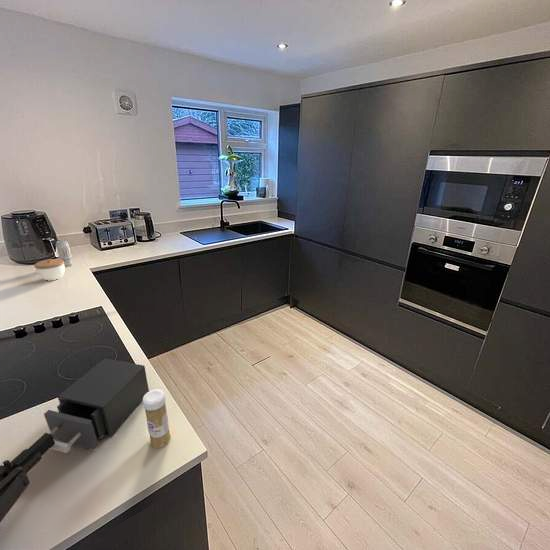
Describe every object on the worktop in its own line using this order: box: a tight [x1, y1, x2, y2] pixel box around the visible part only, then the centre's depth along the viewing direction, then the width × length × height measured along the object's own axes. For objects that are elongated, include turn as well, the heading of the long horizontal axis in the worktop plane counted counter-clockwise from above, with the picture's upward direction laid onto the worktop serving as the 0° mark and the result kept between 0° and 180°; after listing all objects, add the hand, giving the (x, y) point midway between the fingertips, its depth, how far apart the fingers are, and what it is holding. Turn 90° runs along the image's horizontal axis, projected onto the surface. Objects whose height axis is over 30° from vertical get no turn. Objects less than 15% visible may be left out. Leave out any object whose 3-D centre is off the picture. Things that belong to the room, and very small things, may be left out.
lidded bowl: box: [33, 258, 66, 282], centre depth 154 cm, size 13×13×11 cm
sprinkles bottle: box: [142, 388, 172, 449], centre depth 65 cm, size 5×5×13 cm
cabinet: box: [57, 357, 150, 438], centre depth 74 cm, size 15×13×10 cm
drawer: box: [43, 400, 107, 454], centre depth 68 cm, size 18×11×8 cm, turn 167°
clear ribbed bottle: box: [55, 239, 74, 267], centre depth 172 cm, size 6×6×15 cm
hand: (50, 438), depth 59 cm, fingers closed
